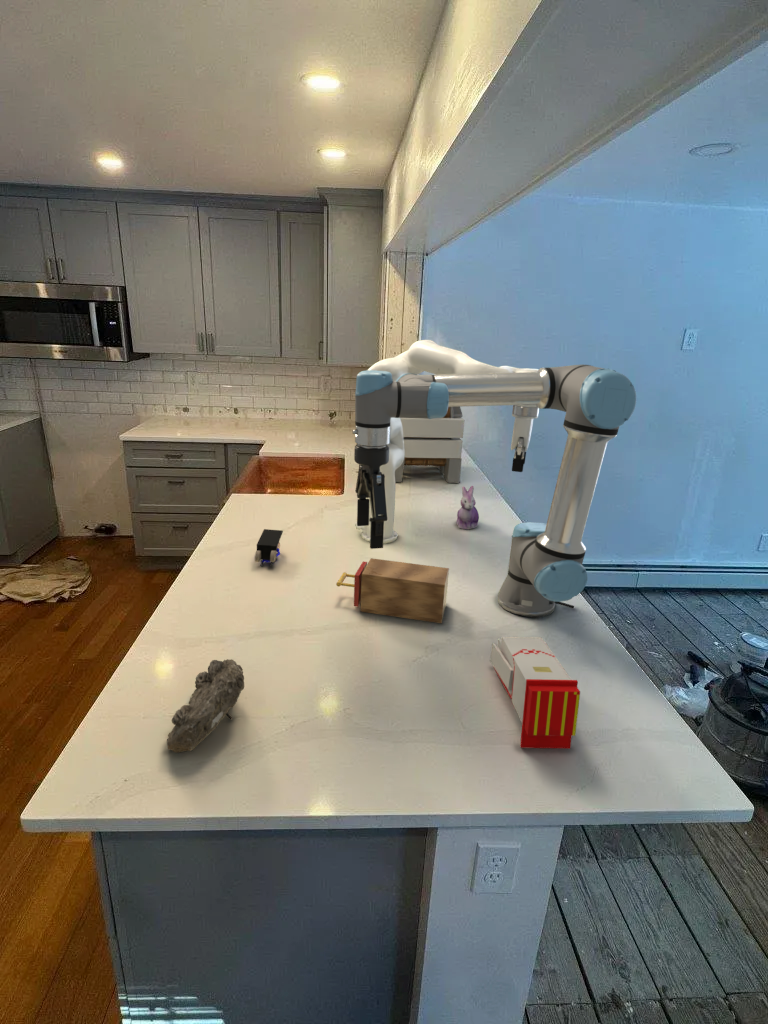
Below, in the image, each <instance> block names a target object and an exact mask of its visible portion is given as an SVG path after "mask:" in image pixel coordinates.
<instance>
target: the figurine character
mask: <svg viewBox="0 0 768 1024" xmlns="http://www.w3.org/2000/svg"><path fill="white" fill-rule="evenodd" d="M283 533H284V531H283V530H279V529H269V528H268V529H266V528H264V529H263V530H262V533H261V534H260V536H259V539H258V541H257V543H256V550H255V554H254V562H255V563H260V567H263V566H264V564H265V563H269V567H270V568H272V567H273V564H274V563H275V562H277V560H278V559H277V558H278V557H279V556H281V552H280V549H281V543H280V540H281V538H282V535H283Z"/></svg>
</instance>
